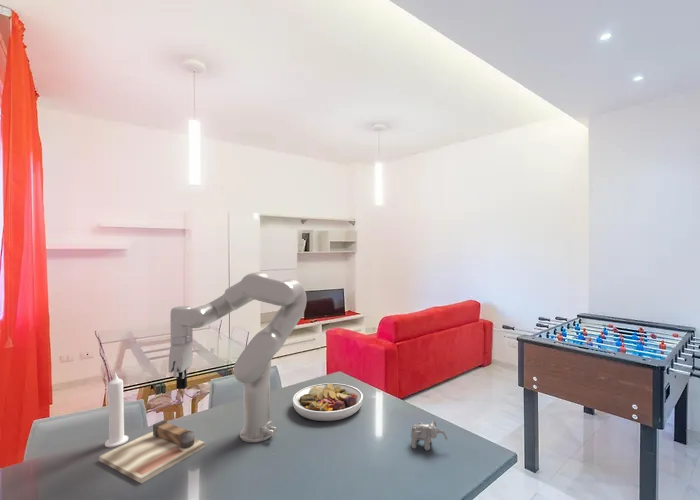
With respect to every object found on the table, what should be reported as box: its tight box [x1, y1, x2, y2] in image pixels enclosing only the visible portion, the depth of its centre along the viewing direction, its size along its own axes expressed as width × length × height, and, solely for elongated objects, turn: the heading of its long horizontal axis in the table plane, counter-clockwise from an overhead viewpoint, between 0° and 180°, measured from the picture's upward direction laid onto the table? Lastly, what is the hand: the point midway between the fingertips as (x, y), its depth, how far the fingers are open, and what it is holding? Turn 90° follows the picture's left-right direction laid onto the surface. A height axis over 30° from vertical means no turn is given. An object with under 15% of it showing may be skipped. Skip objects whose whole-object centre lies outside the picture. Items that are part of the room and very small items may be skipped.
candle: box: [104, 372, 129, 448], centre depth 127 cm, size 7×7×25 cm
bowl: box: [292, 382, 364, 422], centre depth 153 cm, size 30×30×8 cm
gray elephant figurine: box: [410, 420, 449, 451], centre depth 122 cm, size 9×12×8 cm
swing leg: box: [152, 420, 195, 448], centre depth 125 cm, size 19×4×4 cm, turn 60°
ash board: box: [98, 430, 206, 484], centre depth 120 cm, size 24×22×2 cm
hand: (181, 388), depth 134 cm, fingers closed
